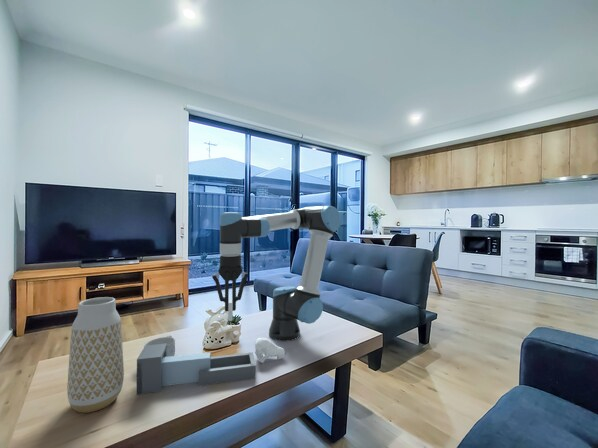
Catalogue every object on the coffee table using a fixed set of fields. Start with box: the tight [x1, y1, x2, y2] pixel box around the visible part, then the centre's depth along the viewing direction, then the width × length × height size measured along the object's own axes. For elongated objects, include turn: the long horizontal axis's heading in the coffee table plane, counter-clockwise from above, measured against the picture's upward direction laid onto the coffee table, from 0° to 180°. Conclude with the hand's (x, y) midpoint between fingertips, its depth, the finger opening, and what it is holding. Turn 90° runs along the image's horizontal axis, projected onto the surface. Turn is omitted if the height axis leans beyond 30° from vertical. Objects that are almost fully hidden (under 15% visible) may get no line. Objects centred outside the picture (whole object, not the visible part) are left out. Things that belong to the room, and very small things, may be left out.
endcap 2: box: [198, 351, 257, 387], centre depth 100 cm, size 19×10×4 cm, turn 106°
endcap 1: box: [136, 343, 167, 395], centre depth 93 cm, size 7×10×11 cm
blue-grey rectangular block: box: [162, 352, 211, 387], centre depth 95 cm, size 20×4×8 cm, turn 104°
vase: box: [66, 296, 125, 414], centre depth 83 cm, size 14×14×31 cm
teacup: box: [143, 334, 176, 357], centre depth 109 cm, size 14×11×8 cm
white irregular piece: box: [254, 337, 285, 364], centre depth 111 cm, size 6×8×12 cm
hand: (230, 319), depth 100 cm, fingers closed
